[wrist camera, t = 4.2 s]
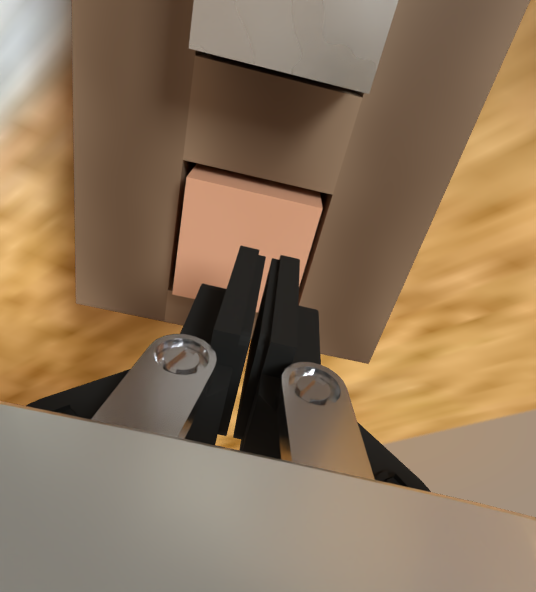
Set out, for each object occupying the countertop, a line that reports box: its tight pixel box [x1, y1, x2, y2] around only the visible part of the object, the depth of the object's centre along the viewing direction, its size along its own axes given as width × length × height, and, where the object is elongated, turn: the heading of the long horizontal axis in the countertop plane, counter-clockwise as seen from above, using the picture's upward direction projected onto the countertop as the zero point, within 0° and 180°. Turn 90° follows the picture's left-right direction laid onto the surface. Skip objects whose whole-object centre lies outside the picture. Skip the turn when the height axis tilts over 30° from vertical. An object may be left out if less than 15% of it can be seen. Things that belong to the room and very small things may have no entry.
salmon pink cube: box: [172, 163, 323, 312], centre depth 16 cm, size 4×4×4 cm
